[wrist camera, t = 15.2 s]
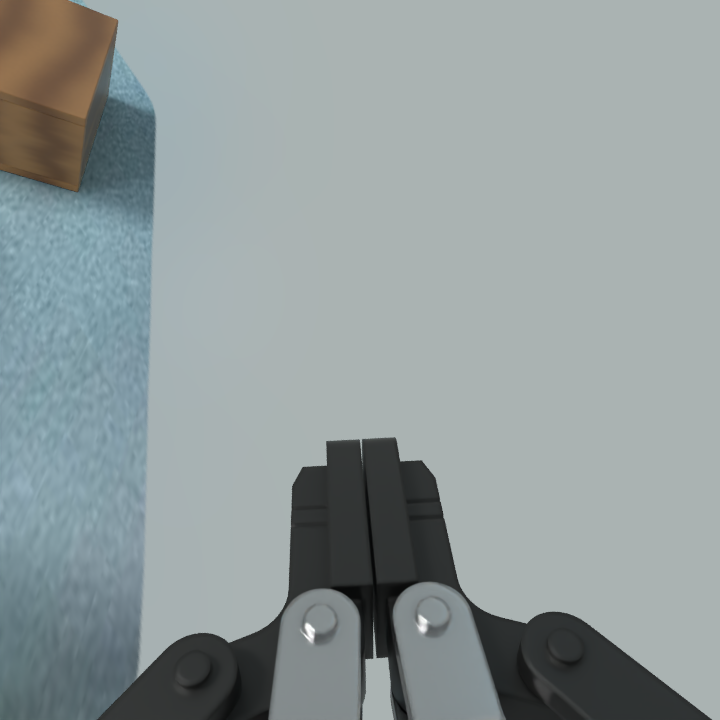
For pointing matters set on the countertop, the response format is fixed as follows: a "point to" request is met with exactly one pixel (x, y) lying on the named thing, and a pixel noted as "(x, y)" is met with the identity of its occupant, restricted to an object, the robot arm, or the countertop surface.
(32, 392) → the countertop surface
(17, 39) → the cabinet
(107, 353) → the countertop surface
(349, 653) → the robot arm
